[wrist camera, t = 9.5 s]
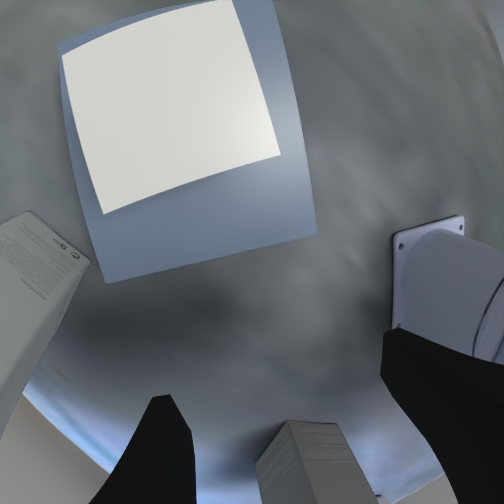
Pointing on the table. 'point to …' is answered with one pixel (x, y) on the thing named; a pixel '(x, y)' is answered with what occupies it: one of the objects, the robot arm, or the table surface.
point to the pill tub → (167, 103)
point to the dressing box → (211, 187)
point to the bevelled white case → (382, 500)
